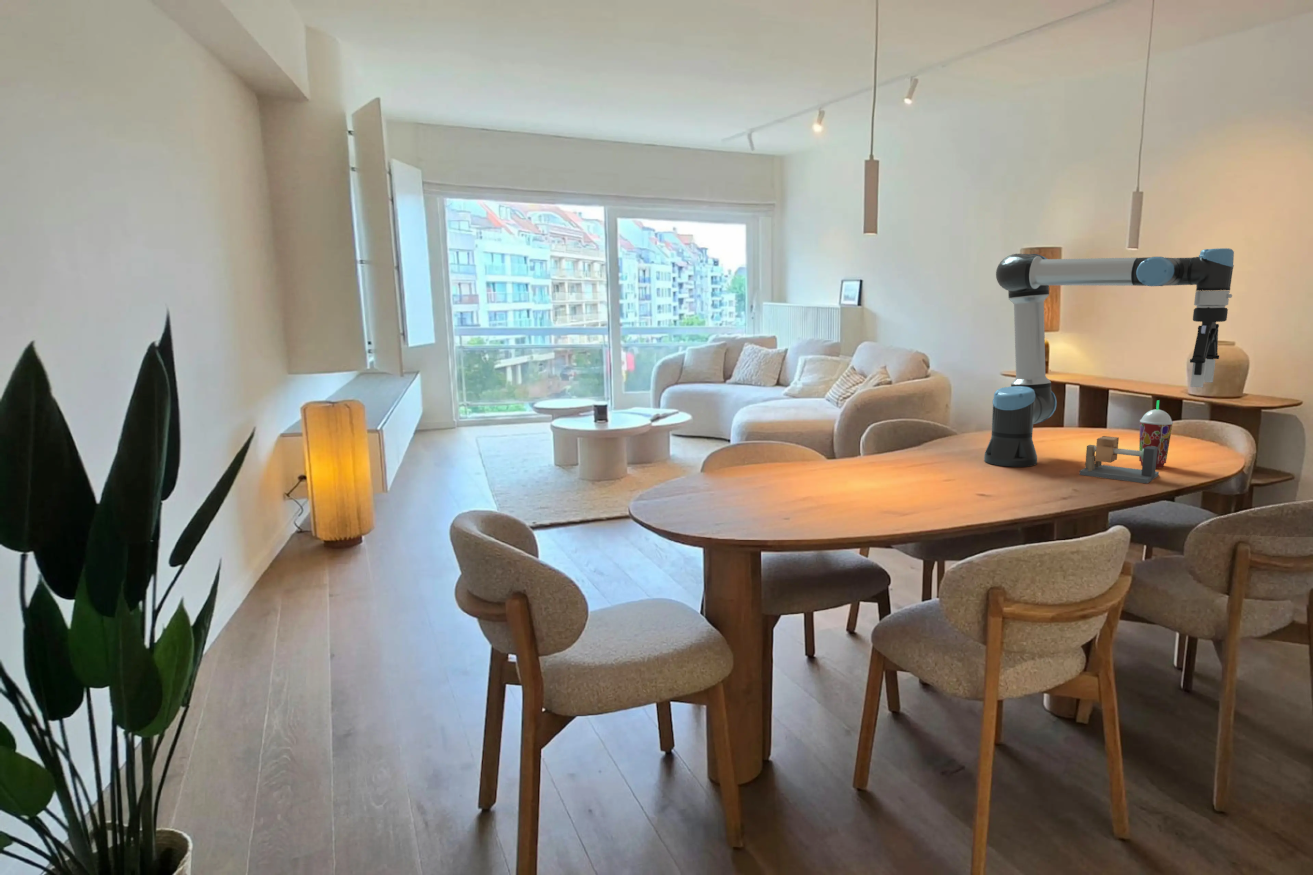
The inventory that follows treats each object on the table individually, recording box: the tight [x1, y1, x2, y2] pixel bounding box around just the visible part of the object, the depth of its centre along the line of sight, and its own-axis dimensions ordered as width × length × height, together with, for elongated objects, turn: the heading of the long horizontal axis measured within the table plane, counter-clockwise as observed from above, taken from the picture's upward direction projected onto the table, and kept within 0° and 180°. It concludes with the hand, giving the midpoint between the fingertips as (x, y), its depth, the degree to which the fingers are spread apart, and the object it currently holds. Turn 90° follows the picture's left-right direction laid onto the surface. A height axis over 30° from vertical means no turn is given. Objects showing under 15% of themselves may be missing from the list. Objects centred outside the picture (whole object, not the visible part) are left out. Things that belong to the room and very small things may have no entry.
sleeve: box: [1095, 435, 1120, 464], centre depth 218 cm, size 4×6×6 cm, turn 134°
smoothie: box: [1138, 399, 1174, 469], centre depth 225 cm, size 8×8×20 cm
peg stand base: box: [1079, 444, 1160, 484], centre depth 216 cm, size 17×12×9 cm
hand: (1201, 384), depth 208 cm, fingers open, 13 cm apart
